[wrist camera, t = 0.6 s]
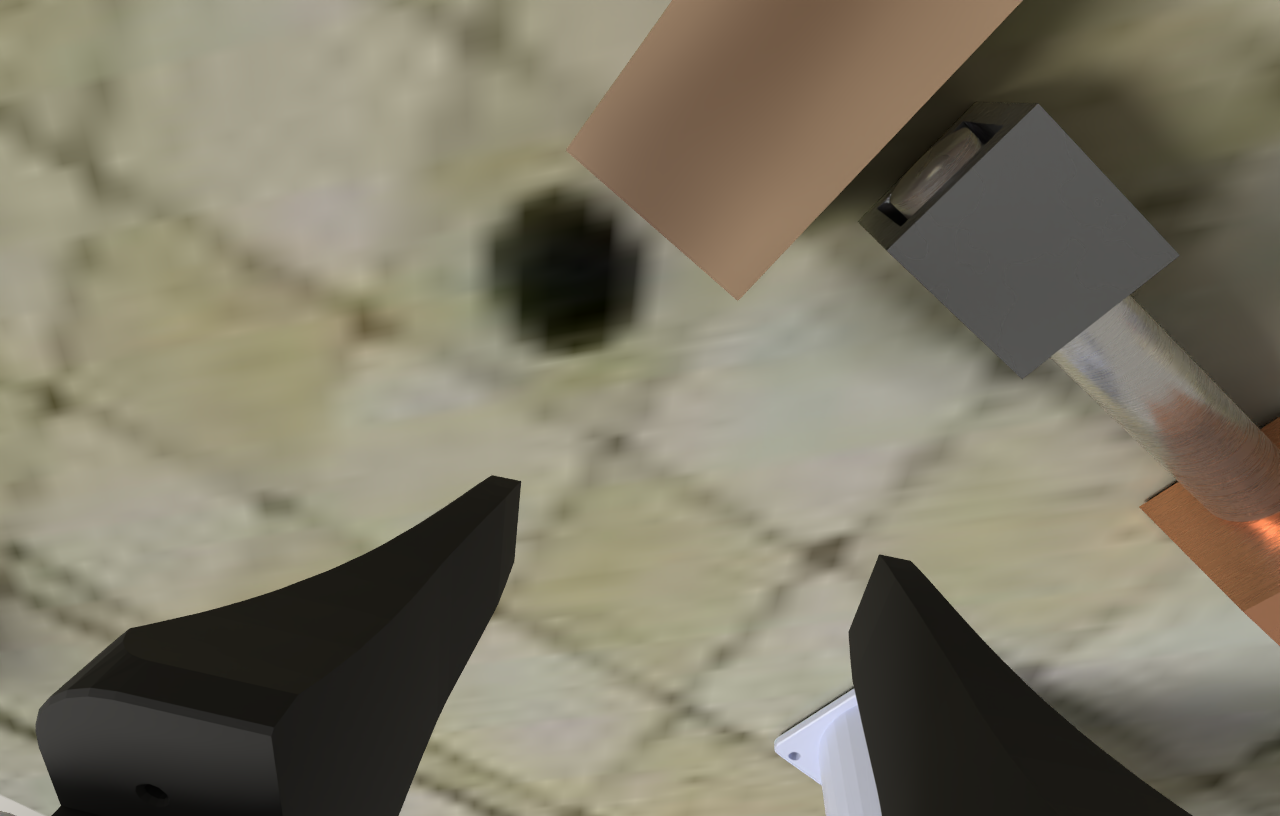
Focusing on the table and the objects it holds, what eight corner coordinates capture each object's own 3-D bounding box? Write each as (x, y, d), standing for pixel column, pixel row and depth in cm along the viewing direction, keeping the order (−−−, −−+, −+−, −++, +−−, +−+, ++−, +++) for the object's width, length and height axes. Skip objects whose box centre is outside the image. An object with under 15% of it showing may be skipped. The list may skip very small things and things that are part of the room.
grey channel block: (1092, 224, 19) (1179, 255, 15) (970, 328, 20) (1022, 379, 17) (975, 102, 18) (1038, 103, 14) (858, 221, 20) (886, 250, 16)
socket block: (1013, -60, 16) (1152, -137, 11) (736, 247, 20) (737, 300, 15) (872, -219, 15) (948, -389, 10) (612, 135, 19) (565, 150, 14)
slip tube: (1330, 447, 20) (1499, 546, 16) (1175, 541, 22) (1286, 652, 18) (987, 84, 17) (1075, 79, 13) (844, 229, 19) (878, 269, 15)
